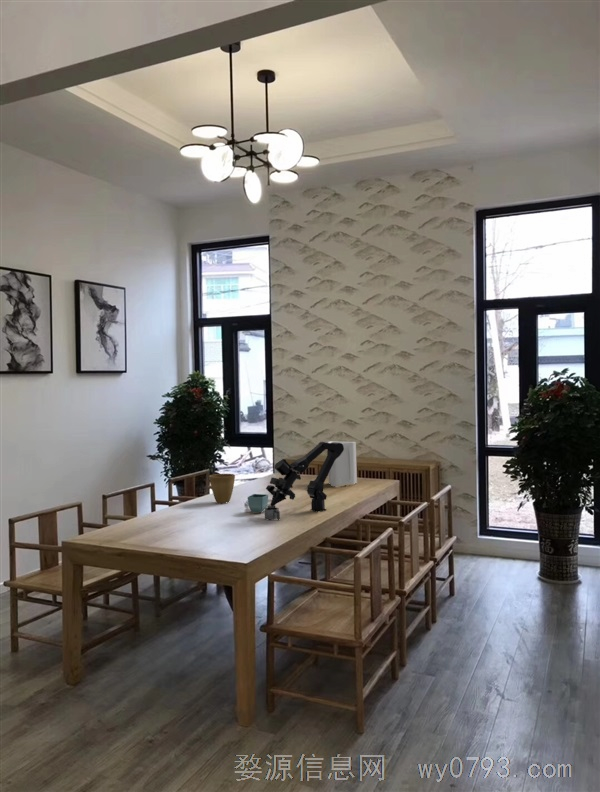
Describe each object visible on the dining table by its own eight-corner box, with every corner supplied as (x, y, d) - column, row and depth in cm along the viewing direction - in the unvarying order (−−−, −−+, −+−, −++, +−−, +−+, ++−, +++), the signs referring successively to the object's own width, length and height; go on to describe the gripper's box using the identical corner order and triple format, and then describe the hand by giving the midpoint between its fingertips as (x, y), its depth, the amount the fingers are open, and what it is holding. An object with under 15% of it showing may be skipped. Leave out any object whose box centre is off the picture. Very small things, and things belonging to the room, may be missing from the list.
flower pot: (263, 514, 334) (262, 497, 334) (247, 513, 337) (247, 496, 337) (269, 510, 342) (268, 494, 342) (254, 510, 345) (253, 493, 345)
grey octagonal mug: (273, 516, 328) (273, 506, 328) (284, 519, 320) (284, 509, 320) (262, 518, 324) (262, 508, 323) (273, 521, 316) (273, 511, 316)
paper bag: (321, 486, 415) (319, 443, 414) (331, 482, 427) (330, 441, 427) (347, 488, 405) (346, 444, 404) (357, 484, 418) (356, 441, 417)
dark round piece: (273, 515, 326) (272, 504, 326) (278, 517, 322) (278, 505, 322) (265, 517, 323) (264, 506, 323) (270, 518, 319) (270, 507, 319)
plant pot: (236, 504, 364) (235, 476, 364) (210, 505, 362) (209, 477, 361) (235, 499, 379) (234, 472, 378) (210, 500, 376) (209, 474, 376)
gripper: (268, 469, 333) (251, 493, 326) (289, 473, 318) (272, 498, 312) (281, 482, 338) (264, 506, 331) (302, 486, 323) (285, 511, 317)
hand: (271, 505), depth 323 cm, fingers closed, pressing on dark round piece
